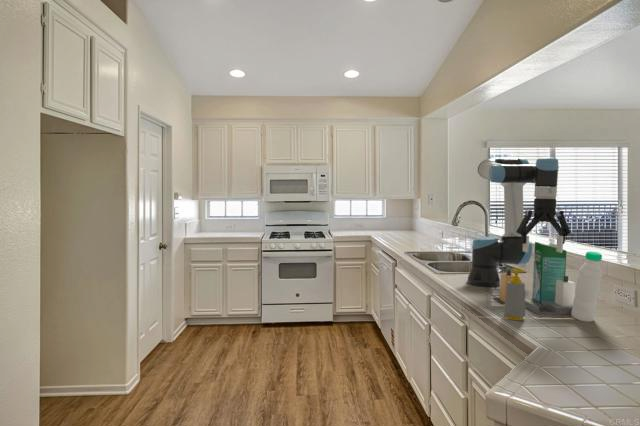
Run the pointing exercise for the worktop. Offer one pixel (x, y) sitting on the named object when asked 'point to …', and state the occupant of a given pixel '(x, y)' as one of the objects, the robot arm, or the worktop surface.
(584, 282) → the water bottle
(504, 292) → the plug
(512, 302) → the soap bottle
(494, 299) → the mat
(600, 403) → the worktop surface
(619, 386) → the worktop surface
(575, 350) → the worktop surface
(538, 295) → the milk carton
